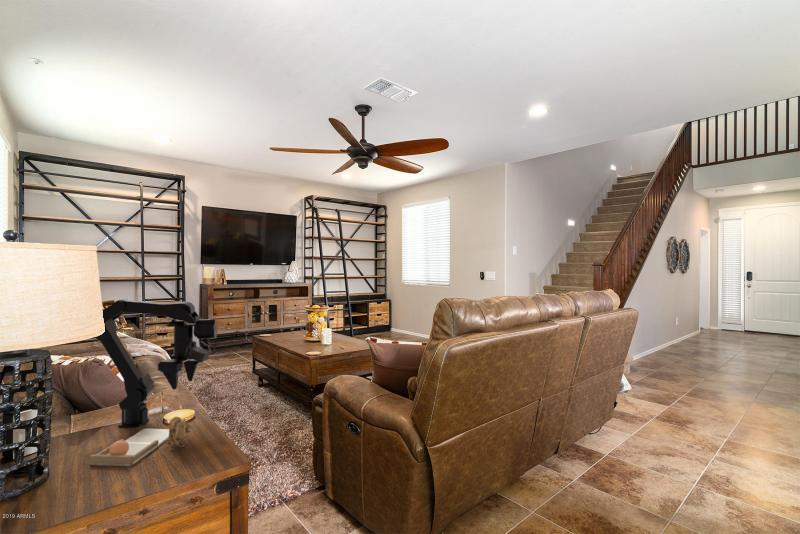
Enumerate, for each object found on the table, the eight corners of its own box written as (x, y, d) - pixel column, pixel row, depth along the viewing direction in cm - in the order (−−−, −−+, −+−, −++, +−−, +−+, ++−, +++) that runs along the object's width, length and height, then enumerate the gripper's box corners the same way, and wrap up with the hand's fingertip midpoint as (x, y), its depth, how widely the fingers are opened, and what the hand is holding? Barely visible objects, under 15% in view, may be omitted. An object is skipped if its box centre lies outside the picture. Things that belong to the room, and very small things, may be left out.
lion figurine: (193, 451, 115) (194, 420, 114) (172, 456, 111) (174, 425, 111) (178, 431, 126) (179, 403, 125) (159, 436, 122) (160, 407, 121)
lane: (89, 464, 106) (89, 455, 106) (144, 430, 128) (144, 422, 128) (130, 466, 105) (130, 457, 105) (178, 431, 127) (178, 423, 127)
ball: (102, 456, 106) (109, 438, 108) (113, 458, 110) (119, 440, 112) (119, 457, 106) (125, 439, 108) (128, 459, 110) (135, 441, 112)
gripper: (191, 345, 126) (190, 394, 126) (220, 334, 145) (219, 377, 145) (156, 344, 127) (156, 393, 127) (189, 334, 145) (189, 377, 145)
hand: (182, 385), depth 136 cm, fingers open, 9 cm apart
